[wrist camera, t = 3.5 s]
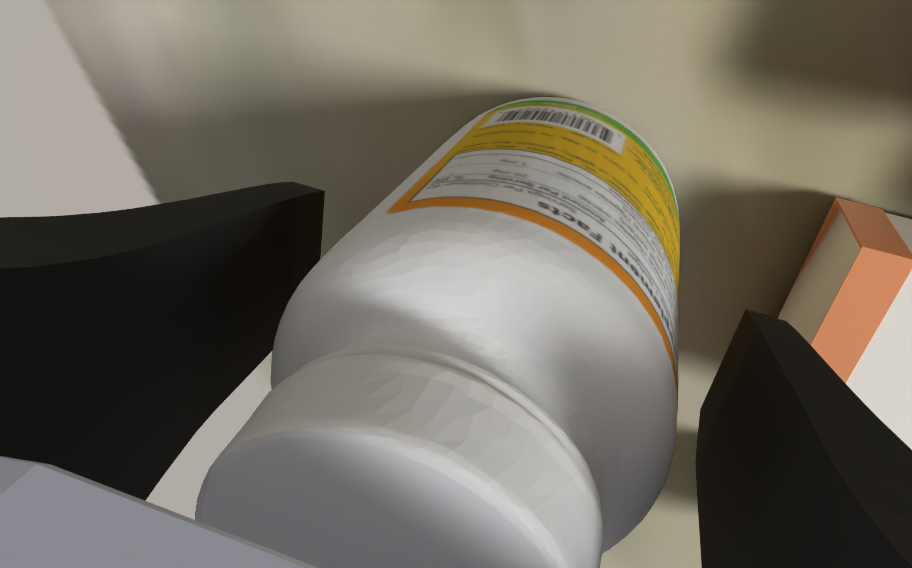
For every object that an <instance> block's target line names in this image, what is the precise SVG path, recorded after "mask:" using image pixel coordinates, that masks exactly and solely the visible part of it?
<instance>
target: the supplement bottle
mask: <svg viewBox="0 0 912 568" xmlns="http://www.w3.org/2000/svg"><path fill="white" fill-rule="evenodd" d="M679 260H680V223H679V212H678V205H677V200H676V196H675V192H674V188H673V186H672V183H671V180H670V178H669V176H668V173H667V171H666V168H665V166H664V165H663V163H662V162H661V160H660V158H659V157H658V155H657V154H656V152H655V151H654V150H653V148H652V147H651V146H650V145H649V143H648V142H647V141H646V140H645V139H644V138H643V137H642V136H641V135H640V134H639V133H638V132H636V131H635V130H634V129H633V128H632V127H630V126H629V125H628V124H626V123H625V122H624V121H622V120H620V119H619V118H617V117H616V116H614V115H612V114H610V113H608V112H606V111H604V110H602V109H600V108H598V107H595V106H593V105H590V104H587V103H584V102H580V101H576V100H572V99H565V98H557V97H534V98H527V99H521V100H516V101H512V102H508V103H505V104H502V105H499V106H497V107H494V108H492V109H490V110H488V111H486V112H484V113H482V114H480V115H479V116H477V117H476V118H474V119H473V120H471V121H470V122H469V123H467V124H466V125H465V126H463V127H462V128H461V129H460V130H459V131H458V132H456V133H455V134H454V135H453V136H452V137H451V138H450V139H448V140H447V141H446V142H445V143H444V144H443V145H442V146H441V147H440V148H439V149H438V150H436V151H435V152H434V153H433V154H432V155H431V156H430V157H429V158H428V159H427V160H426V161H425V162H424V163H423V164H422V165H420V166H419V167H418V168H417V169H416V170H415V171H414V172H413V173H412V174H411V175H410V176H409V177H408V178H407V179H406V180H405V181H403V182H402V183H401V184H400V185H399V186H398V187H397V188H396V189H395V190H394V191H393V192H392V193H391V194H390V195H388V196H387V197H386V198H385V199H384V200H383V201H382V202H381V203H380V204H379V205H378V206H377V207H375V208H374V209H373V210H372V211H371V212H370V213H369V214H368V215H367V216H366V217H365V218H364V219H363V220H361V221H360V222H359V223H358V224H357V225H356V226H355V227H354V228H353V229H351V230H350V231H349V232H348V233H347V234H346V235H345V236H344V237H342V238H341V239H340V240H339V241H338V242H337V243H336V244H335V245H334V246H333V247H332V248H331V249H330V250H329V251H328V252H327V253H326V254H325V255H324V256H323V257H322V258H321V260H320V261H319V262H318V263H317V264H316V265H315V266H314V267H313V268H312V269H311V271H310V272H309V273H308V274H307V275H306V277H305V278H304V279H303V280H302V281H301V283H300V284H299V286H298V287H297V289H296V290H295V292H294V294H293V295H292V297H291V299H290V300H289V302H288V304H287V306H286V309H285V311H284V313H283V315H282V318H281V320H280V323H279V326H278V330H277V333H276V336H275V340H274V346H273V352H272V365H271V387H272V391H270V392H269V393H268V395H267V396H266V397H265V398H264V400H263V401H262V402H261V404H260V405H259V406H258V408H257V409H256V411H255V412H254V413H253V414H252V416H251V417H250V419H249V420H248V421H247V423H246V424H245V425H244V426H243V427H242V429H241V430H240V431H239V432H238V433H237V435H236V436H235V437H234V438H233V439H232V441H231V442H230V443H229V444H228V445H227V447H226V448H225V449H224V450H223V451H222V453H221V454H220V455H219V457H218V458H217V459H216V460H215V462H214V463H213V464H212V466H211V467H210V468H209V470H208V473H207V475H206V477H205V479H204V481H203V484H202V487H201V490H200V492H199V495H198V498H197V505H196V512H195V520H196V521H199V522H201V523H204V524H207V525H209V526H212V527H214V528H217V529H220V530H222V531H225V532H227V533H230V534H233V535H235V536H238V537H240V538H243V539H246V540H248V541H251V542H253V543H256V544H259V545H261V546H264V547H266V548H269V549H272V550H274V551H277V552H279V553H282V554H285V555H287V556H290V557H292V558H295V559H298V560H300V561H303V562H305V563H308V564H310V565H313V566H316V567H318V568H599V567H600V562H601V556H602V553H604V552H606V551H607V550H609V549H610V548H612V547H613V546H614V545H616V544H617V543H618V542H620V541H621V540H622V539H623V538H624V537H626V536H627V535H628V534H629V533H630V532H631V531H632V530H633V529H634V528H635V527H636V526H637V525H638V524H639V523H640V522H641V521H642V520H643V519H644V517H645V516H646V514H647V513H648V511H649V510H650V509H651V507H652V506H653V504H654V503H655V501H656V499H657V497H658V495H659V494H660V492H661V490H662V487H663V485H664V483H665V481H666V478H667V475H668V472H669V469H670V465H671V461H672V458H673V454H674V445H675V437H676V424H677V411H678V310H679Z"/></svg>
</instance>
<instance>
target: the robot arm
mask: <svg viewBox="0 0 912 568" xmlns="http://www.w3.org/2000/svg"><path fill="white" fill-rule="evenodd" d="M324 195H325V191H323V190H320V189H316V188H312V187H309V186H305V185H302V184H298V183H295V182H283V183H274V184H267V185H260V186H255V187H249V188H244V189H239V190H234V191H229V192H224V193H219V194H213V195H208V196H203V197H198V198H193V199H188V200H182V201H176V202H170V203H164V204H158V205H152V206H146V207H140V208H134V209H127V210H118V211H110V212H101V213H90V214H79V215H67V216H49V217H7V218H6V217H5V218H0V568H318V567H316V566H313V565H310V564H308V563H305V562H303V561H300V560H298V559H295V558H292V557H290V556H287V555H285V554H282V553H279V552H277V551H274V550H272V549H269V548H266V547H264V546H261V545H259V544H256V543H253V542H251V541H248V540H246V539H243V538H240V537H238V536H235V535H233V534H230V533H227V532H225V531H222V530H220V529H217V528H214V527H212V526H209V525H207V524H204V523H201V522H199V521H196V520H193V519H191V518H188V517H186V516H183V515H181V514H177V513H175V512H173V511H170V510H168V509H165V508H162V507H160V506H157V505H154V504H152V503H149V502H147V501H145V500H146V499H147V498H148V496H149V495H150V493H151V492H152V490H153V489H154V487H155V486H156V485H157V483H158V482H159V481H160V479H161V478H162V476H163V475H164V474H165V472H166V471H167V470H168V468H169V467H170V466H171V464H172V463H173V462H174V460H175V459H176V458H177V456H178V455H179V454H180V453H181V451H182V450H183V448H184V447H185V446H186V445H187V443H188V442H189V441H190V439H191V438H192V437H193V435H194V434H195V433H196V431H197V430H198V429H199V428H200V427H201V426H202V425H203V423H204V422H205V421H206V420H207V419H208V418H209V417H210V415H211V414H212V413H213V412H214V411H215V410H216V409H217V408H218V407H219V405H220V404H222V403H223V401H224V400H225V399H226V398H227V397H228V396H229V395H230V394H231V393H232V392H233V391H234V390H235V389H236V388H237V387H238V386H239V385H240V384H241V383H242V382H243V380H244V379H245V378H246V377H247V376H248V375H249V374H250V373H251V372H252V371H253V370H254V369H255V368H256V367H257V366H258V365H259V364H260V363H261V362H262V361H263V360H264V359H265V358H266V357H267V355H268V354H269V353H270V352H271V351H272V350H273V346H274V340H275V336H276V333H277V330H278V326H279V323H280V320H281V318H282V315H283V313H284V311H285V309H286V306H287V304H288V302H289V300H290V299H291V297H292V295H293V294H294V292H295V290H296V289H297V287H298V286H299V284H300V283H301V281H302V280H303V279H304V278H305V277H306V275H307V274H308V273H309V272H310V271H311V269H312V268H313V267H314V266H315V265H316V264H317V263H318V262H319V261H320V254H321V239H322V224H323V209H324ZM696 478H697V497H698V514H699V529H700V545H701V561H702V568H912V450H911V449H910V448H909V447H908V446H907V445H906V444H905V443H904V442H903V441H902V440H901V439H900V438H899V437H898V436H897V435H896V434H895V433H894V432H893V431H892V430H891V429H889V428H888V427H887V426H886V425H885V424H884V423H883V422H882V421H881V420H880V419H879V418H878V417H877V416H876V415H875V414H874V413H873V412H872V411H871V410H870V409H869V408H868V407H867V406H866V405H865V404H864V403H863V402H862V400H861V399H860V398H859V397H858V396H857V395H856V394H855V393H854V392H853V391H852V390H851V389H850V388H849V387H848V386H847V385H846V383H845V382H844V381H843V380H842V379H841V378H840V377H839V376H838V375H837V374H836V373H835V371H834V370H833V369H832V368H831V367H830V366H829V365H828V364H827V363H826V362H825V360H824V359H823V358H822V357H821V356H820V355H819V354H818V353H817V352H816V350H815V349H814V348H813V347H812V346H811V345H810V344H809V343H808V342H807V341H806V340H805V339H804V338H803V336H802V335H801V334H800V333H799V332H798V331H797V330H796V329H795V328H794V327H793V326H791V325H790V324H789V323H788V322H787V321H784V320H781V319H777V318H774V317H770V316H767V315H763V314H760V313H756V312H753V311H749V310H745V312H744V314H743V316H742V319H741V321H740V323H739V325H738V328H737V330H736V332H735V334H734V336H733V339H732V341H731V343H730V345H729V347H728V350H727V352H726V354H725V356H724V358H723V361H722V363H721V365H720V367H719V369H718V372H717V374H716V376H715V378H714V380H713V383H712V385H711V387H710V389H709V391H708V394H707V396H706V398H705V400H704V403H703V405H702V407H701V410H700V419H699V429H698V439H697V451H696Z"/></svg>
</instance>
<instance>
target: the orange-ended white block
mask: <svg viewBox="0 0 912 568" xmlns="http://www.w3.org/2000/svg"><path fill="white" fill-rule="evenodd" d="M777 319H781V320H784V321H787V322H788V323H789V324H790V325H791V326H793V327H794V328H795V329H796V330H797V331H798V332H799V333H800V334H801V335H802V336H803V338H804V339H805V340H806V341H807V342H808V343H809V344H810V345H811V346H812V347H813V348H814V349H815V350H816V352H817V353H818V354H819V355H820V356H821V357H822V358H823V359H824V360H825V362H826V363H827V364H828V365H829V366H830V367H831V368H832V369H833V370H834V371H835V373H836V374H837V375H838V376H839V377H840V378H841V379H842V380H843V381H844V382H845V383H846V385H847V386H848V387H849V388H850V389H851V390H852V391H853V392H854V393H855V394H856V395H857V396H858V397H859V398H860V399H861V400H862V402H863V403H864V404H865V405H866V406H867V407H868V408H869V409H870V410H871V411H872V412H873V413H874V414H875V415H876V416H877V417H878V418H879V419H880V420H881V421H882V422H883V423H884V424H885V425H886V426H887V427H888V428H889V429H891V430H892V431H893V432H894V433H895V434H896V435H897V436H898V437H899V438H900V439H901V440H902V441H903V442H904V443H905V444H906V445H907V446H908V447H909V448H910V449H911V450H912V219H908V218H904V217H900V216H896V215H892V214H888V213H884V211H883V210H882V209H881V208H877V207H873V206H869V205H865V204H861V203H857V202H853V201H849V200H845V199H841V198H837V197H836V198H835V200H834V202H833V204H832V206H831V208H830V211H829V213H828V215H827V217H826V219H825V221H824V223H823V225H822V227H821V229H820V231H819V233H818V235H817V237H816V239H815V242H814V244H813V246H812V248H811V250H810V252H809V254H808V256H807V258H806V260H805V262H804V264H803V266H802V268H801V270H800V273H799V275H798V277H797V279H796V281H795V283H794V285H793V287H792V289H791V291H790V293H789V295H788V297H787V299H786V301H785V304H784V306H783V308H782V310H781V312H780V314H779V316H778V318H777Z"/></svg>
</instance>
